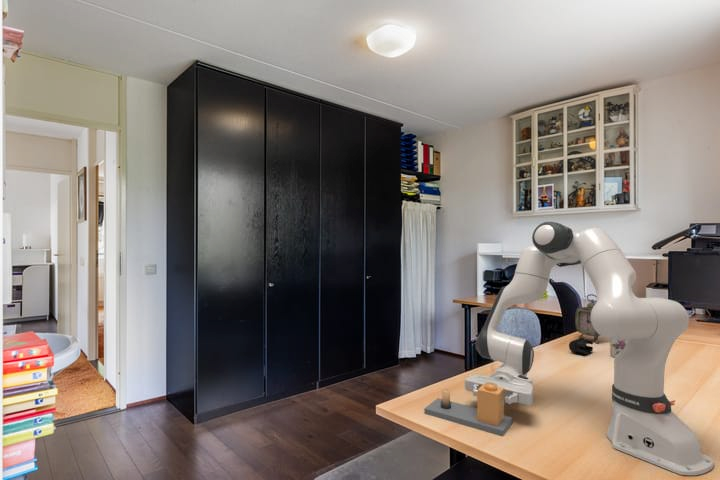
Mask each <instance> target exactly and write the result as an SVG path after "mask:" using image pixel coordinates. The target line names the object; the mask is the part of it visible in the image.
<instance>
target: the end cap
mask: <svg viewBox="0 0 720 480" xmlns="http://www.w3.org/2000/svg"><path fill="white" fill-rule="evenodd" d="M593 344H594V340H592V339H587V338H585V337H583V336H582V338H579V337H578V338H577V339H574V340H571V341H570V342H569V344H568V348H569V351H570V352H571V353H573V354H574V355H576V356H580V357H588V356H589V355H592V354H593V352H594V351H593V350H594V346H589V345H593Z"/></svg>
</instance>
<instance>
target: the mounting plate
mask: <svg viewBox="0 0 720 480" xmlns="http://www.w3.org/2000/svg"><path fill="white" fill-rule="evenodd" d="M450 399H451V391H450V390H449V389H442V390H441V398H440V397H437V398H436V399H434V400H433V401H432V402H431V403H429V404H428V405H427V406H426V407H424V412H423V413H424V414H426V415H430V416H432V417H435V418H440V419H444V420H445V421H449V422H454V423H458V424H460V425H463V426H466V427H470V428H474V429H477V430H481V431H484V432H488V433H491V434H495V435H497V436H502V437H504V435H505V434H506V433H507V431H508V429H509V428H510V426H512V424H513V417H512V416H509V415H506V414H504V419H503V420H502V421H501V423H500V424H499V425H498V426H496V425H492V424H489V423H485V422H482V421H478V420H477V407H476V406H470V405H466V404H464V403H463V404H462V403H460V402H459V403H458V402H455V401H451V400H450Z"/></svg>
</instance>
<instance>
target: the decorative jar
mask: <svg viewBox="0 0 720 480" xmlns="http://www.w3.org/2000/svg"><path fill="white" fill-rule="evenodd" d="M609 340H610V343H609V346H610V347H609V349H610V350H609V354H610V357H611V358H614V359H615V357H616V355H617V354H618V353H619V352H620V351H622V350H623V349H624V347H625V346H626V345H627V343H628V340H617V339H611V338H609Z"/></svg>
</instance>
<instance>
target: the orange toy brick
mask: <svg viewBox="0 0 720 480" xmlns="http://www.w3.org/2000/svg"><path fill="white" fill-rule="evenodd" d="M476 397H477V403H476V404H477V406H476V408H477V420H478V421H482V422H485V423H489V424H492V425H496V426H498V425H499V424H500V423H501V421H502V420H503V419H504V415H505V399H504V388H502V387H497V384H495V383H485V384H483V385H482V386H481V387H480V388H479V389H478V390H477V396H476Z"/></svg>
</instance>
